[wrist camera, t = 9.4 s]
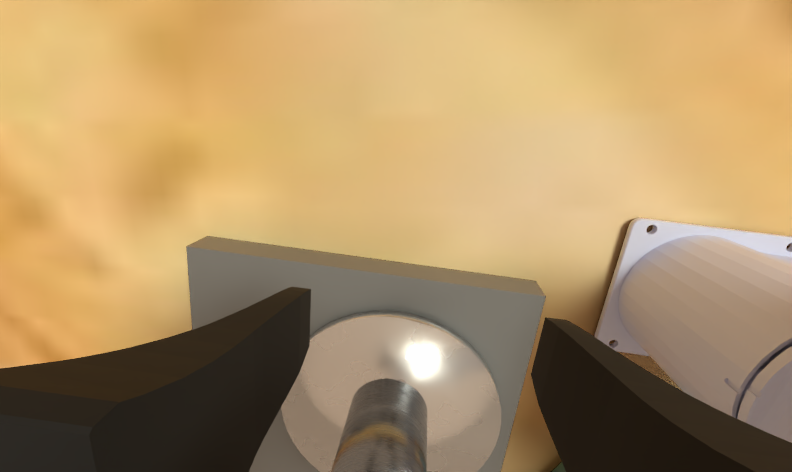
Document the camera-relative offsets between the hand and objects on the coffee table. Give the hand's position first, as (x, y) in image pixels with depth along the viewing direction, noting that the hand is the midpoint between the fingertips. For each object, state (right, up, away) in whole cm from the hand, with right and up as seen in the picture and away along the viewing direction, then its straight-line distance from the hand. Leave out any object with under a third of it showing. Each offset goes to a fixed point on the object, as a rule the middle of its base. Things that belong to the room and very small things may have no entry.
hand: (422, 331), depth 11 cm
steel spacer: (-1, -7, +10) cm, 13 cm away
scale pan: (-1, -7, +11) cm, 13 cm away
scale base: (-3, -6, +13) cm, 15 cm away
